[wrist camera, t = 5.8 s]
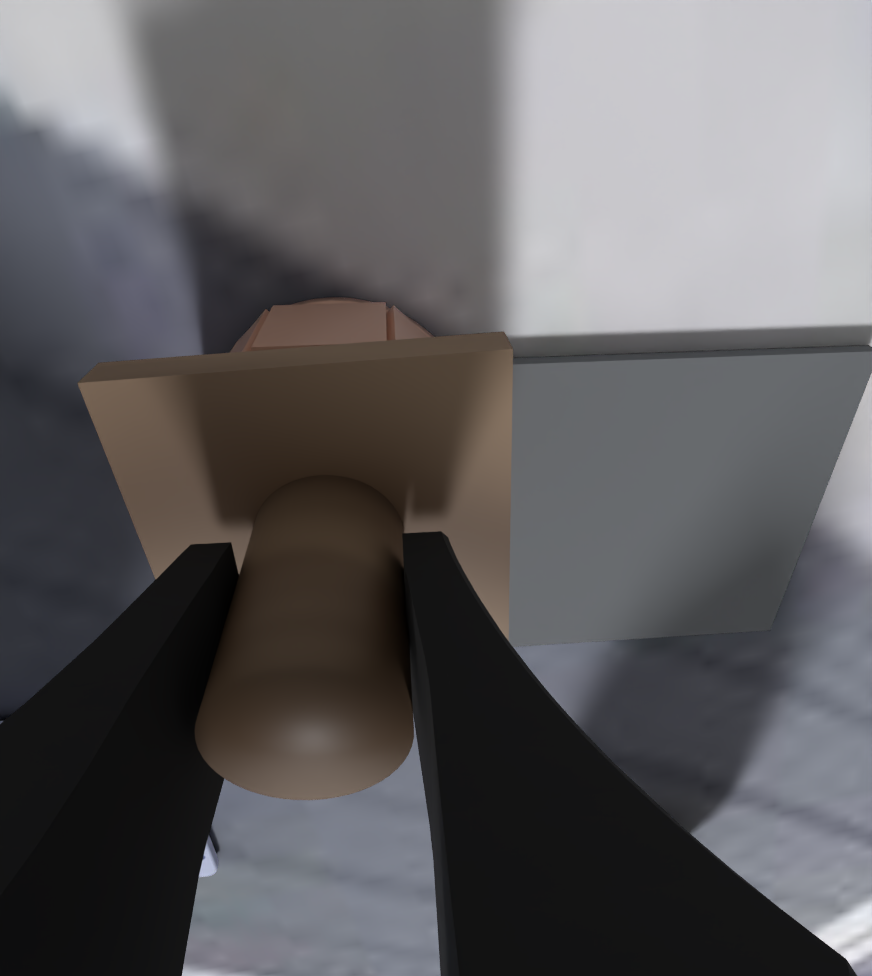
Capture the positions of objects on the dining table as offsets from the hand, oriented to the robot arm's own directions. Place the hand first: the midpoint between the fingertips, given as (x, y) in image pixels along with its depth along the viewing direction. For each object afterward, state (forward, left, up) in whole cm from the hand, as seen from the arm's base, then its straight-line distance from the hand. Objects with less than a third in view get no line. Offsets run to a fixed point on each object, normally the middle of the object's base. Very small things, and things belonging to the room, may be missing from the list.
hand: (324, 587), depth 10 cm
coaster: (-3, -8, -6) cm, 10 cm away
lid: (0, 0, -2) cm, 2 cm away
